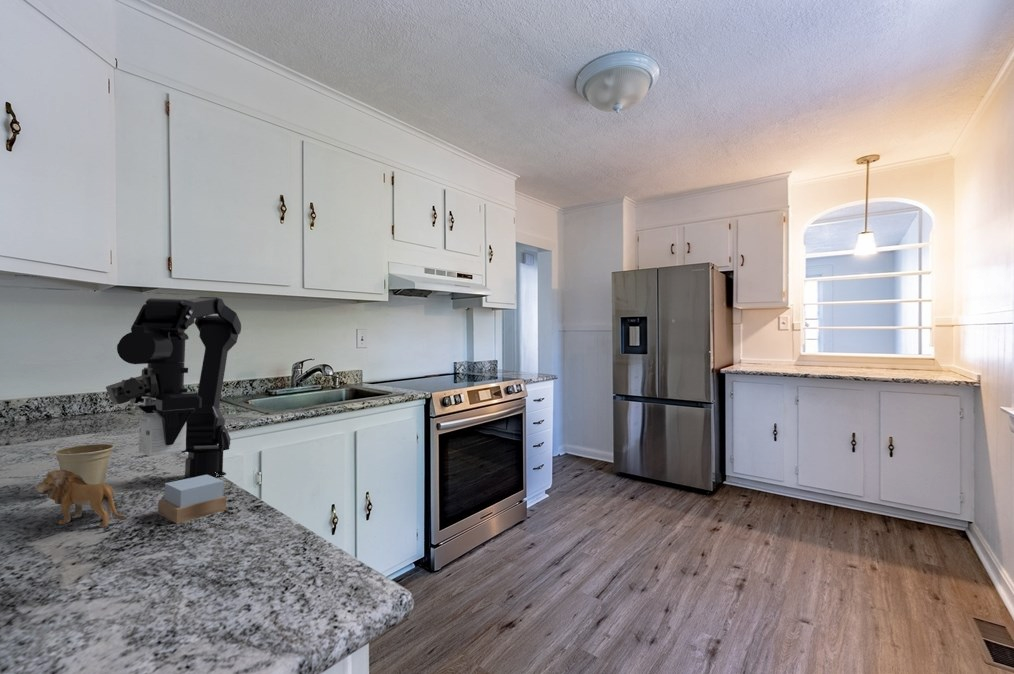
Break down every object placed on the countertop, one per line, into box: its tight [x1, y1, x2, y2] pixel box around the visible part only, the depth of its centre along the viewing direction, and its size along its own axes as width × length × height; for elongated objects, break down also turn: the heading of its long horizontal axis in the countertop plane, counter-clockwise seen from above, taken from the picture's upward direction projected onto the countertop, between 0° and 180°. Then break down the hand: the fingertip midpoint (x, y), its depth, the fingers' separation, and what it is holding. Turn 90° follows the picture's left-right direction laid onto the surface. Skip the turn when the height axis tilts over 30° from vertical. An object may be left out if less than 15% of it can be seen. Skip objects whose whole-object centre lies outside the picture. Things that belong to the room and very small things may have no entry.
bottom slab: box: [157, 495, 227, 525], centre depth 82 cm, size 8×8×3 cm
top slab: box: [163, 475, 225, 508], centre depth 83 cm, size 7×7×3 cm
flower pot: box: [53, 443, 116, 485], centre depth 94 cm, size 9×9×9 cm
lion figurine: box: [34, 468, 128, 528], centre depth 77 cm, size 15×5×9 cm, turn 91°
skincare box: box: [138, 413, 186, 457], centre depth 85 cm, size 6×6×7 cm
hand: (163, 442), depth 85 cm, fingers closed on skincare box, 6 cm apart
